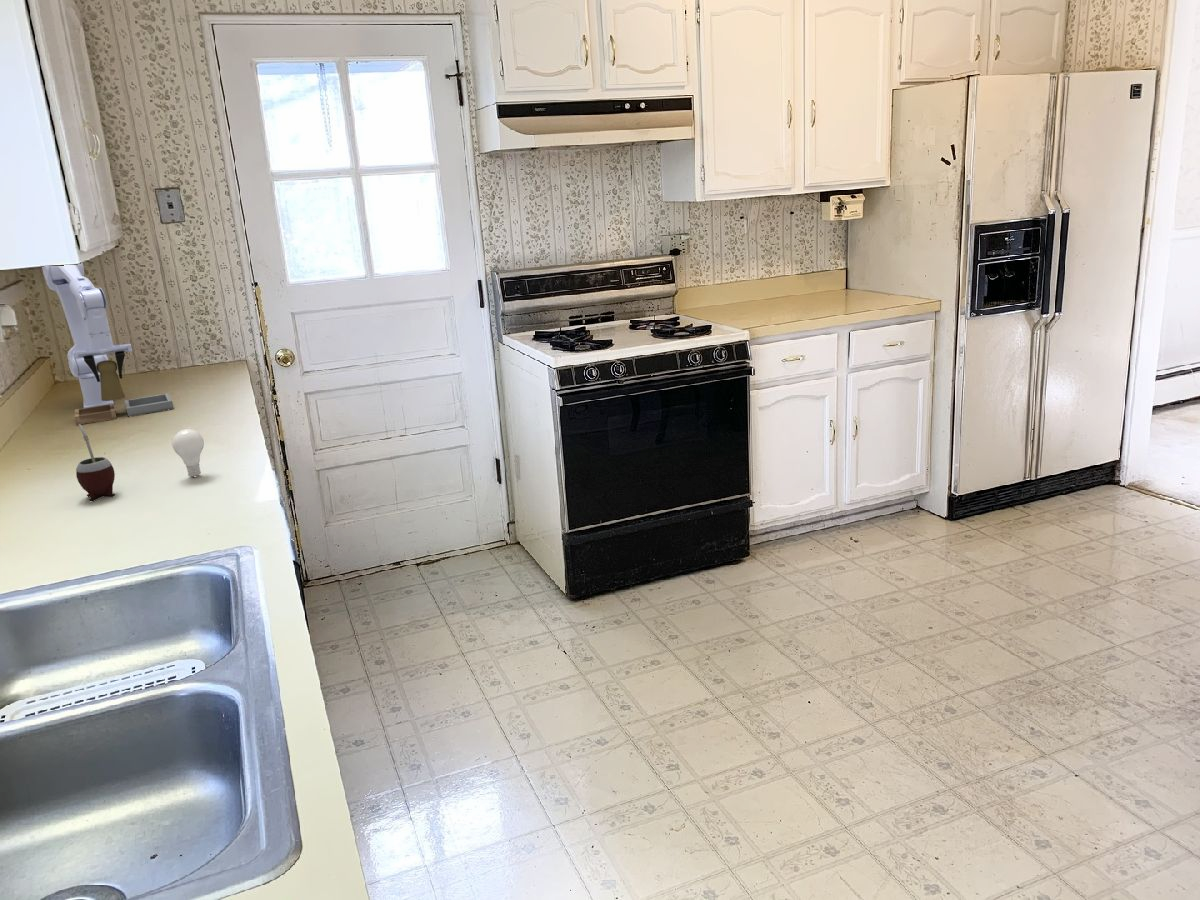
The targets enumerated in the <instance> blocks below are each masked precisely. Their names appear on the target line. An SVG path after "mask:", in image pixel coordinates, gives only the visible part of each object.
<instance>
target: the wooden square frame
mask: <svg viewBox="0 0 1200 900" xmlns="http://www.w3.org/2000/svg"><path fill="white" fill-rule="evenodd" d="M116 413H117V412H116V409H115V403H113V404H107V405H101V406H94V407H88V408H84V407H81V408H76V409H74V419H75V423H76V426H78V425H79V424H83V425H86V424H85V423H89V424H93V423H92V422H95V423H101V422H106V420H107V421H111V419H113V420H117V419H116V418H117V414H116ZM100 421H101V422H100Z"/></svg>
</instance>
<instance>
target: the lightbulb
mask: <svg viewBox="0 0 1200 900" xmlns="http://www.w3.org/2000/svg"><path fill="white" fill-rule="evenodd" d="M204 445H205V442H204V438H203V436H202V435H201V433H200V432H198V431H197V430H195V429H192V428H185V429H181V430H179V431H177V432H176V433H175V435H174V436H173V439H172V441H171V446H172V449H173V451H174V452H175V453H176V455H178V456H179V457H180V458H181V460H182V462H183V463H184V465H185V467H186V470H187V475H188V476H189V477H192V478H195V477H194V476H197V477H198V476H200V475H201V474H202V471H201V467H200V461H201V458H200V457H201V453H202V452H203V449H204Z"/></svg>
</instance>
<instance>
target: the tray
mask: <svg viewBox="0 0 1200 900" xmlns="http://www.w3.org/2000/svg"><path fill="white" fill-rule="evenodd" d="M124 405H125V409H126V412H127V413H128V414H127V413H126V414H127V417H128V416H131V417H135V416H134V415H137V416H141V415H140V414H143V415H147V414H146V413H149V414H153V413H152V412H155V413H159V412H158V411H161V412H164V411H163V410H167V411H169V410H168V409H173V410H174V405H173V400H172V398H171V396H170V394H169V392H168V393H163V394H155V395H149V396H143V397H138V398H132V399H125V400H124Z"/></svg>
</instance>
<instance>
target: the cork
mask: <svg viewBox="0 0 1200 900" xmlns="http://www.w3.org/2000/svg"><path fill="white" fill-rule="evenodd" d="M96 368H97V370H98V372H99V373H100V382H101V399H102V401H111V400H113V401H117V400H122V399H125V398H126V396H125V393H124V391H123V387H122V384H121V382H120V378H119V375H118V373H117V370H118V365H117V361H115V360H110V359H108V360H106V361H101V362H99V363H97V366H96Z"/></svg>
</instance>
